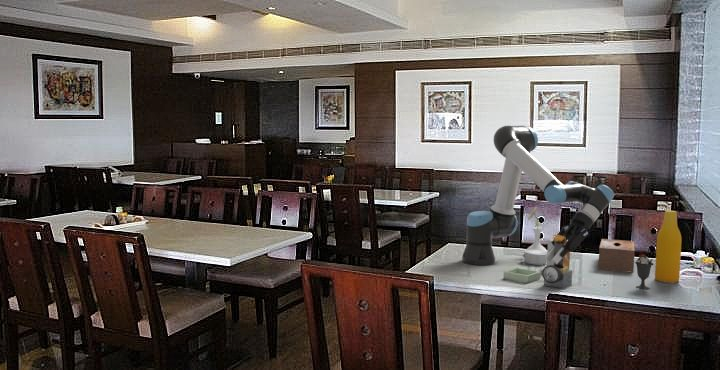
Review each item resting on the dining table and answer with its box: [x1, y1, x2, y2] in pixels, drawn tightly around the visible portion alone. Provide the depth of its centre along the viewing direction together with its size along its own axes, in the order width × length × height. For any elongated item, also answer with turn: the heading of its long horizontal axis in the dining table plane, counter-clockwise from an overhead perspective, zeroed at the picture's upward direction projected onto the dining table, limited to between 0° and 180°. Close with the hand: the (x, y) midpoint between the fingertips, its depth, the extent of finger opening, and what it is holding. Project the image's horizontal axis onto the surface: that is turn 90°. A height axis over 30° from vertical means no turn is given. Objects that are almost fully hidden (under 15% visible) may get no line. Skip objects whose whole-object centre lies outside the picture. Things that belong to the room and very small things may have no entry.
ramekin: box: [523, 249, 548, 266], centre depth 291 cm, size 11×11×5 cm
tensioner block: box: [541, 265, 573, 290], centre depth 247 cm, size 8×11×9 cm
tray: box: [503, 267, 542, 284], centre depth 259 cm, size 11×11×3 cm
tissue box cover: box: [597, 238, 636, 273], centre depth 288 cm, size 26×14×10 cm, turn 157°
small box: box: [546, 238, 571, 268], centre depth 278 cm, size 8×6×13 cm
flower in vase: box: [525, 205, 548, 251], centre depth 305 cm, size 13×11×25 cm
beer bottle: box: [654, 210, 683, 283], centre depth 258 cm, size 9×9×29 cm
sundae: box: [634, 249, 655, 291], centre depth 245 cm, size 7×7×15 cm
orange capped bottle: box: [552, 234, 566, 269], centre depth 247 cm, size 5×5×14 cm
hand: (550, 260), depth 246 cm, fingers closed on orange capped bottle, 3 cm apart
